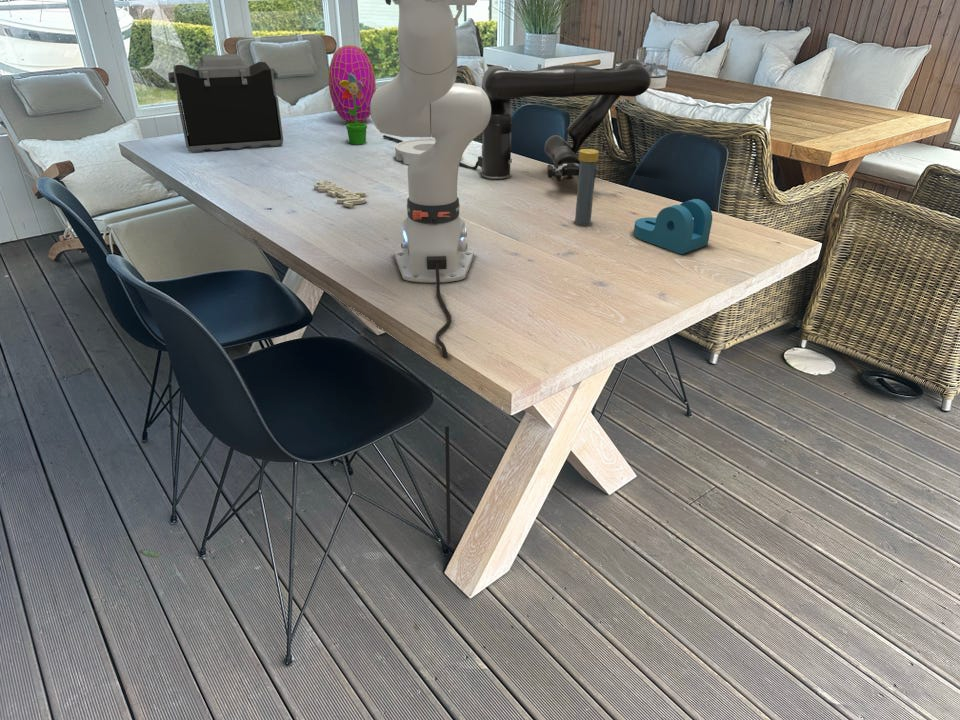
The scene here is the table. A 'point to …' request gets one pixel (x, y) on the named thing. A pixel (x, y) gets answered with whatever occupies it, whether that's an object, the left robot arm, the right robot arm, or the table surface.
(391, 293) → the table surface
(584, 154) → the lid
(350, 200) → the decorative sign
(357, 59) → the decorative egg
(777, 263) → the table surface
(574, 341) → the table surface
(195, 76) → the electronic device
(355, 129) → the potted flower
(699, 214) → the camera mount
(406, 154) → the ashtray
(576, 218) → the grey long cylinder
